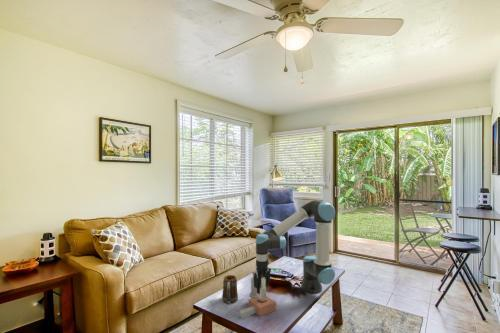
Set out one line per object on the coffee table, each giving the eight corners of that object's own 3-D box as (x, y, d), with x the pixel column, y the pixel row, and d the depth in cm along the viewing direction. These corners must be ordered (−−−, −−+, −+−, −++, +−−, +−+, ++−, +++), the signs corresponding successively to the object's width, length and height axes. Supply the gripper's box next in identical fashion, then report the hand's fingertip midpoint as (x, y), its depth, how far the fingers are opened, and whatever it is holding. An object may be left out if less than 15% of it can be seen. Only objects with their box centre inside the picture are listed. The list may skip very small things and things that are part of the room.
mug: (223, 295, 177) (223, 274, 177) (238, 296, 176) (238, 274, 177) (219, 308, 161) (219, 284, 161) (236, 308, 161) (236, 284, 161)
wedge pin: (263, 299, 163) (263, 275, 163) (266, 301, 160) (266, 277, 161) (257, 301, 160) (257, 277, 161) (260, 303, 158) (260, 278, 158)
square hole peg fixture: (258, 298, 173) (258, 274, 173) (275, 309, 159) (275, 283, 159) (230, 309, 160) (230, 283, 160) (246, 322, 146) (246, 294, 146)
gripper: (268, 255, 169) (268, 291, 168) (247, 260, 159) (247, 298, 159) (275, 258, 162) (275, 296, 162) (255, 264, 153) (255, 304, 153)
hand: (262, 297), depth 160 cm, fingers closed on wedge pin, 3 cm apart
